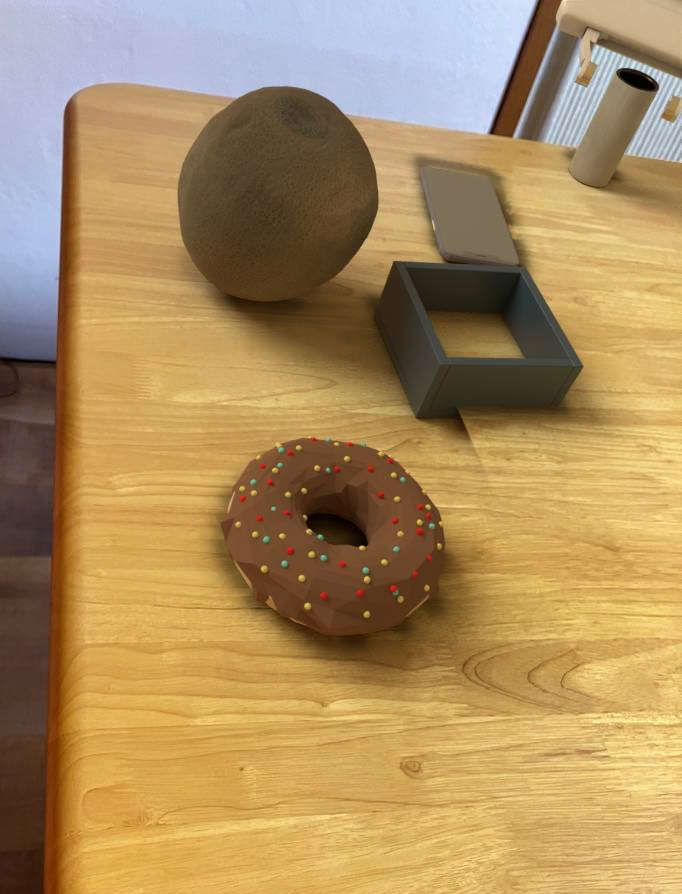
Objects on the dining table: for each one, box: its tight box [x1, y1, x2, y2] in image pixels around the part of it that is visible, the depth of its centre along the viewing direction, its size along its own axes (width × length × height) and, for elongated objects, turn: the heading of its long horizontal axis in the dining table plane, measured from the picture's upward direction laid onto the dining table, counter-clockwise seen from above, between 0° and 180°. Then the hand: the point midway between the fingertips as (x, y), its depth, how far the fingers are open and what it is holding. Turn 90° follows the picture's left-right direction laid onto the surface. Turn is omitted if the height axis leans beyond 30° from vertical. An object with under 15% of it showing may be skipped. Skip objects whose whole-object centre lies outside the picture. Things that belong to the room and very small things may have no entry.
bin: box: [373, 260, 585, 419], centre depth 68 cm, size 12×12×5 cm
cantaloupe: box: [176, 85, 380, 302], centre depth 65 cm, size 14×14×15 cm
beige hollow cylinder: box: [568, 67, 660, 188], centre depth 90 cm, size 4×4×10 cm
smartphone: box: [419, 165, 521, 267], centre depth 83 cm, size 8×1×15 cm
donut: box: [219, 435, 446, 637], centre depth 53 cm, size 14×14×5 cm
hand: (624, 100), depth 90 cm, fingers open, 8 cm apart
